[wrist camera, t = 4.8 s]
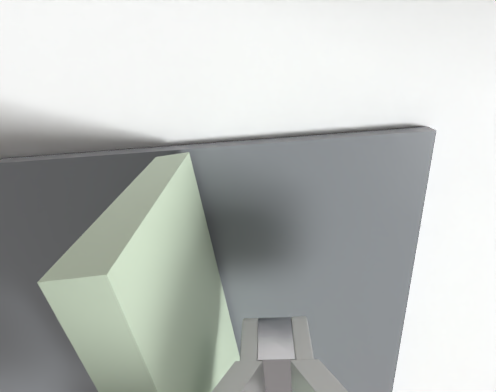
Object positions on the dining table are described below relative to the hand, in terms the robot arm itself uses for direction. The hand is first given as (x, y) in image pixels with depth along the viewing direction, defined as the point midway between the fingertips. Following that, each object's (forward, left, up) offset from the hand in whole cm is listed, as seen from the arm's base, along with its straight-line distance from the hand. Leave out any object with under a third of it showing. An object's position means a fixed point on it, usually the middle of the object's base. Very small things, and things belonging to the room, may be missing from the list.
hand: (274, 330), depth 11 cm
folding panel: (+3, +1, -3) cm, 4 cm away
